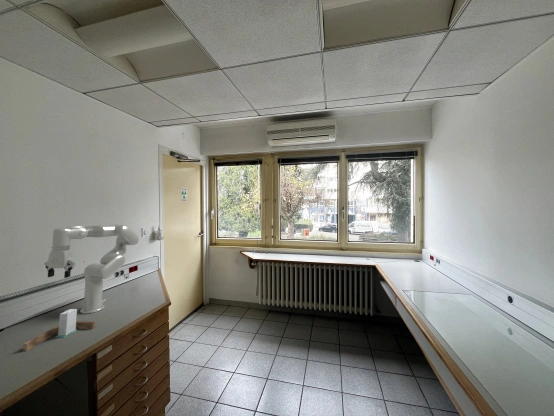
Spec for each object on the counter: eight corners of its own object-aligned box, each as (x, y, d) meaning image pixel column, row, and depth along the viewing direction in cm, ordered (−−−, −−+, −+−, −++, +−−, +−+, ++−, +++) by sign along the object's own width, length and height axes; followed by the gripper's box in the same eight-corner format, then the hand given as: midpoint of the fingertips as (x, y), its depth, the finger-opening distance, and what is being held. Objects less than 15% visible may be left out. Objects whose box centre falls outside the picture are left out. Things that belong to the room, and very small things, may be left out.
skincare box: (68, 329, 121) (69, 308, 122) (76, 330, 121) (77, 308, 122) (57, 336, 115) (59, 313, 115) (65, 336, 115) (67, 313, 116)
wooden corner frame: (66, 326, 125) (67, 320, 125) (94, 327, 125) (94, 321, 125) (23, 350, 103) (23, 343, 103) (56, 351, 103) (57, 344, 103)
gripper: (39, 249, 124) (37, 278, 124) (69, 250, 124) (67, 279, 124) (52, 247, 132) (50, 274, 131) (81, 248, 132) (79, 275, 132)
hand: (59, 276), depth 128 cm, fingers open, 9 cm apart
